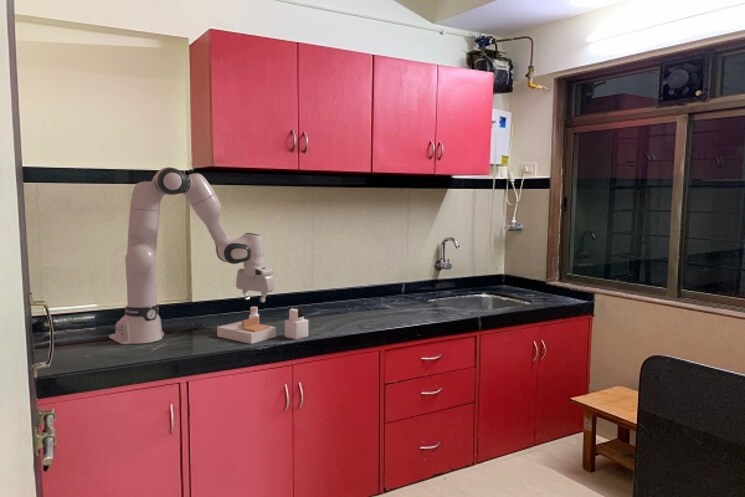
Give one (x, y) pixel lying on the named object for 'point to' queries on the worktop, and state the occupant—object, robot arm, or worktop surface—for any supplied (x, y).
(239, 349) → the worktop surface
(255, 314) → the salt shaker
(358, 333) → the worktop surface
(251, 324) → the orange l-shaped bracket
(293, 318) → the white stepped block
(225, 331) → the white tray
